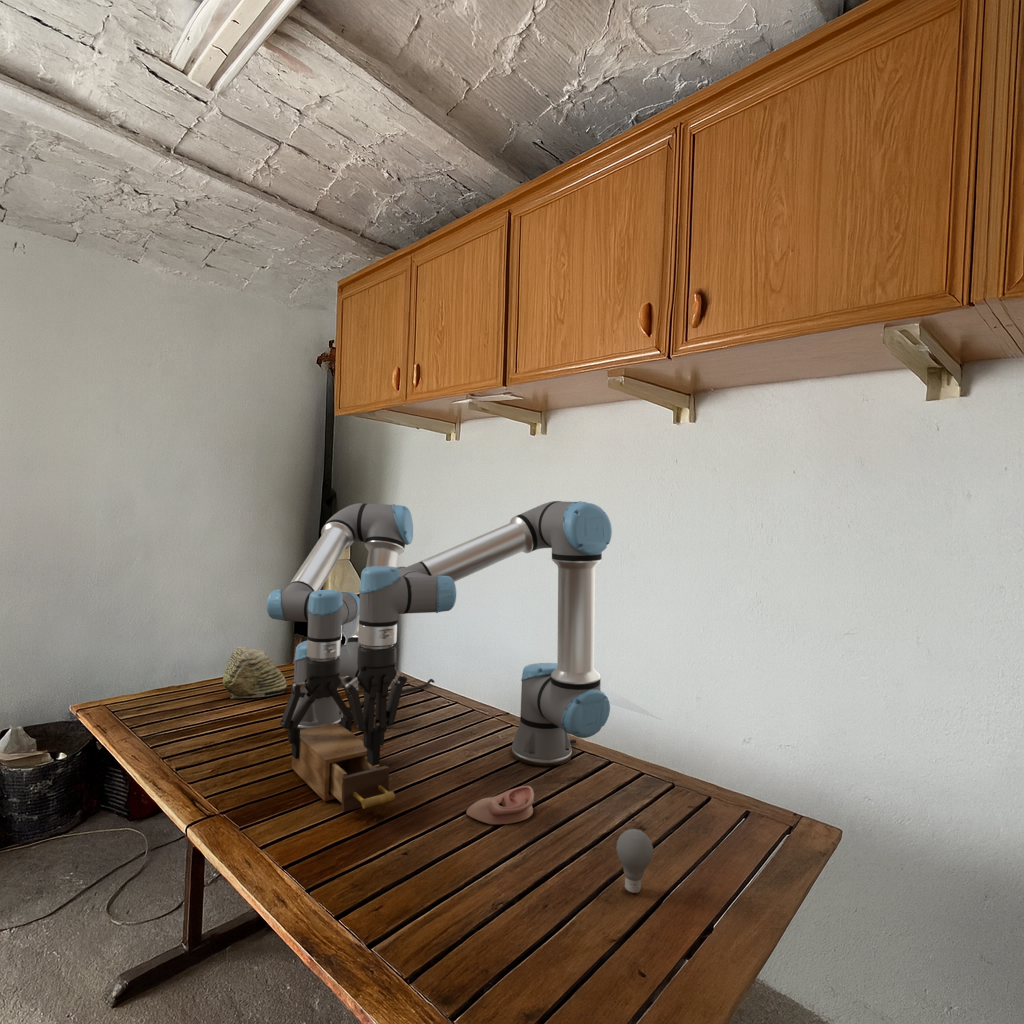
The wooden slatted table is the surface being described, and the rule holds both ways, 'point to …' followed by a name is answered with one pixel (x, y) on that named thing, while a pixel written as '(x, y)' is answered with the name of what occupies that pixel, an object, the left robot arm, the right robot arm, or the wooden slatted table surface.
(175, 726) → the wooden slatted table surface
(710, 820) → the wooden slatted table surface
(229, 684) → the fossil
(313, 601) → the left robot arm
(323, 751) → the cabinet
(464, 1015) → the wooden slatted table surface
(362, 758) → the drawer
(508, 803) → the anatomical model
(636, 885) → the light bulb
